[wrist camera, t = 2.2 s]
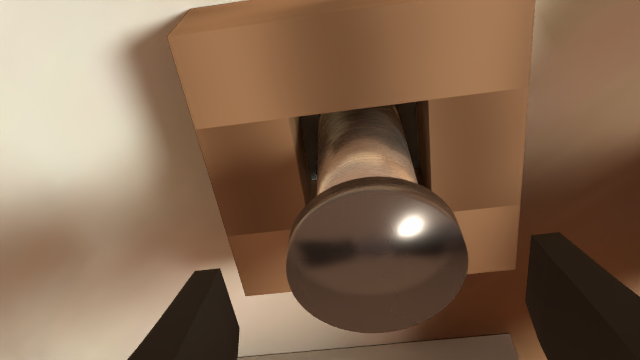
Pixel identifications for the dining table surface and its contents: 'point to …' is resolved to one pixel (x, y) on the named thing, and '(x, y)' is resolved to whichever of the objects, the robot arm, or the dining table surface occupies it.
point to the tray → (415, 351)
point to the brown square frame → (356, 93)
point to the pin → (373, 231)
